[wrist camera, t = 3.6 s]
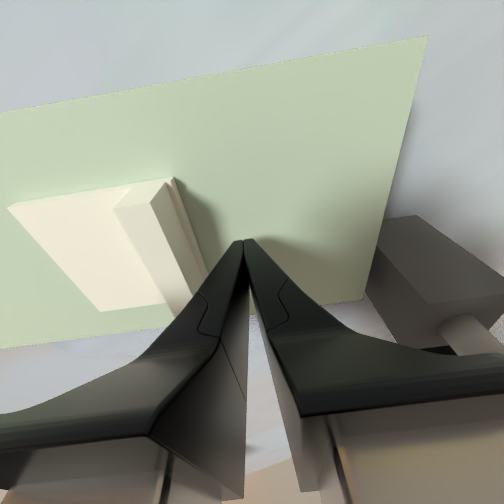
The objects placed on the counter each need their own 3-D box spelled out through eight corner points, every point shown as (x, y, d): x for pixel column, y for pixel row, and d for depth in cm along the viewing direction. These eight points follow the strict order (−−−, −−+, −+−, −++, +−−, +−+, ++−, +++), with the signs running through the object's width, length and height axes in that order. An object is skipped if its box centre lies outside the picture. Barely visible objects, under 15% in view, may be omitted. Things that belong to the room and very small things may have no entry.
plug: (416, 215, 15) (582, 332, 8) (400, 259, 17) (516, 381, 10) (357, 223, 15) (466, 347, 8) (349, 266, 18) (428, 391, 10)
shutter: (173, 176, 8) (156, 201, 7) (213, 289, 12) (209, 324, 10) (16, 202, 9) (-42, 232, 7) (104, 304, 13) (81, 342, 11)
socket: (365, 52, 10) (428, 35, 6) (338, 259, 17) (362, 299, 14) (-134, 142, 11) (-294, 165, 7) (43, 302, 18) (1, 349, 15)
